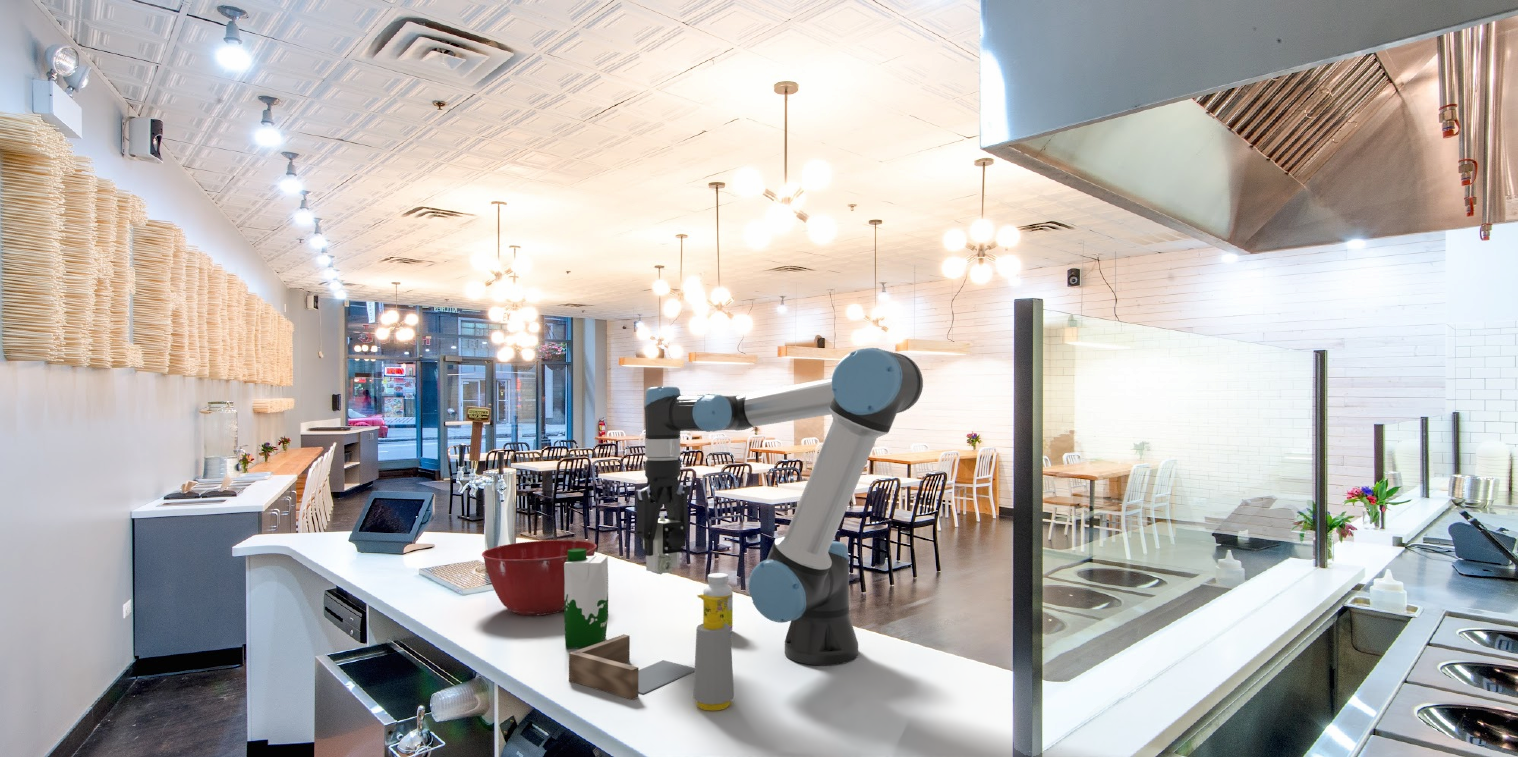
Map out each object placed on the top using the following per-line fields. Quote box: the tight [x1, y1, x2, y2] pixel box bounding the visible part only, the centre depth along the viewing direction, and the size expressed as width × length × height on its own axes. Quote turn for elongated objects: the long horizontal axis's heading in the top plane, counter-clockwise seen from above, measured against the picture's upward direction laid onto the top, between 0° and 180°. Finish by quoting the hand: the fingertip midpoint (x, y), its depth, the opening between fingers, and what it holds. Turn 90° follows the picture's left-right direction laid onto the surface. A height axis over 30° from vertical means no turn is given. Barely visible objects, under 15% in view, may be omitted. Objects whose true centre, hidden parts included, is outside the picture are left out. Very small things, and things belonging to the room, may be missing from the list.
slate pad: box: [638, 659, 695, 695], centre depth 136 cm, size 9×15×1 cm, turn 145°
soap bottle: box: [693, 594, 735, 712], centre depth 123 cm, size 7×7×18 cm
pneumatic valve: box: [639, 514, 687, 575], centre depth 154 cm, size 6×12×12 cm, turn 41°
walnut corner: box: [568, 634, 640, 700], centre depth 136 cm, size 16×14×5 cm
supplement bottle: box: [702, 572, 734, 633], centre depth 164 cm, size 7×7×13 cm
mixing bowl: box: [481, 539, 598, 616], centre depth 186 cm, size 28×28×16 cm
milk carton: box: [563, 548, 609, 649], centre depth 157 cm, size 9×9×20 cm
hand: (663, 568), depth 154 cm, fingers closed on pneumatic valve, 6 cm apart
